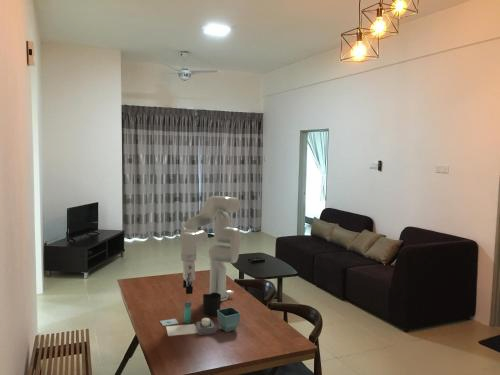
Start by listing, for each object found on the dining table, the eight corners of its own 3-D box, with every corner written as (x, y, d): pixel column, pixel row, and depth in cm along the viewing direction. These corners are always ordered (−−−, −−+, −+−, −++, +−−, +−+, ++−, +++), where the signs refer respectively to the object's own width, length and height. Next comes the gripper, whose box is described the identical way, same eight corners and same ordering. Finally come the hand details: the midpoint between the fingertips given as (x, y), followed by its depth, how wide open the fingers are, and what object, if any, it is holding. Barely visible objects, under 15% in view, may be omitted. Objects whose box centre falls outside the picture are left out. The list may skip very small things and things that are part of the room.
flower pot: (224, 334, 193) (225, 316, 192) (216, 327, 201) (216, 310, 200) (240, 331, 198) (241, 313, 197) (231, 324, 205) (232, 306, 205)
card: (175, 319, 209) (175, 318, 209) (178, 323, 204) (178, 322, 204) (159, 321, 206) (159, 320, 206) (162, 326, 200) (162, 325, 200)
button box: (212, 326, 202) (212, 320, 202) (215, 333, 194) (215, 327, 194) (195, 327, 200) (196, 321, 199) (198, 335, 192) (198, 328, 192)
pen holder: (217, 317, 213) (218, 299, 212) (200, 315, 214) (200, 297, 214) (222, 311, 222) (222, 293, 221) (205, 309, 224) (206, 291, 223)
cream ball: (208, 324, 199) (209, 317, 199) (210, 327, 196) (210, 320, 195) (200, 325, 198) (201, 318, 198) (202, 328, 194) (202, 321, 194)
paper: (194, 324, 203) (194, 323, 203) (198, 333, 194) (198, 332, 194) (166, 327, 199) (166, 326, 199) (168, 336, 190) (168, 335, 190)
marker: (190, 320, 209) (190, 300, 208) (191, 322, 205) (191, 303, 204) (183, 320, 208) (184, 301, 207) (184, 323, 204) (184, 303, 203)
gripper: (199, 261, 196) (198, 295, 197) (193, 252, 213) (192, 284, 214) (183, 261, 194) (182, 296, 195) (178, 253, 211) (178, 285, 212)
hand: (187, 290), depth 205 cm, fingers open, 9 cm apart
